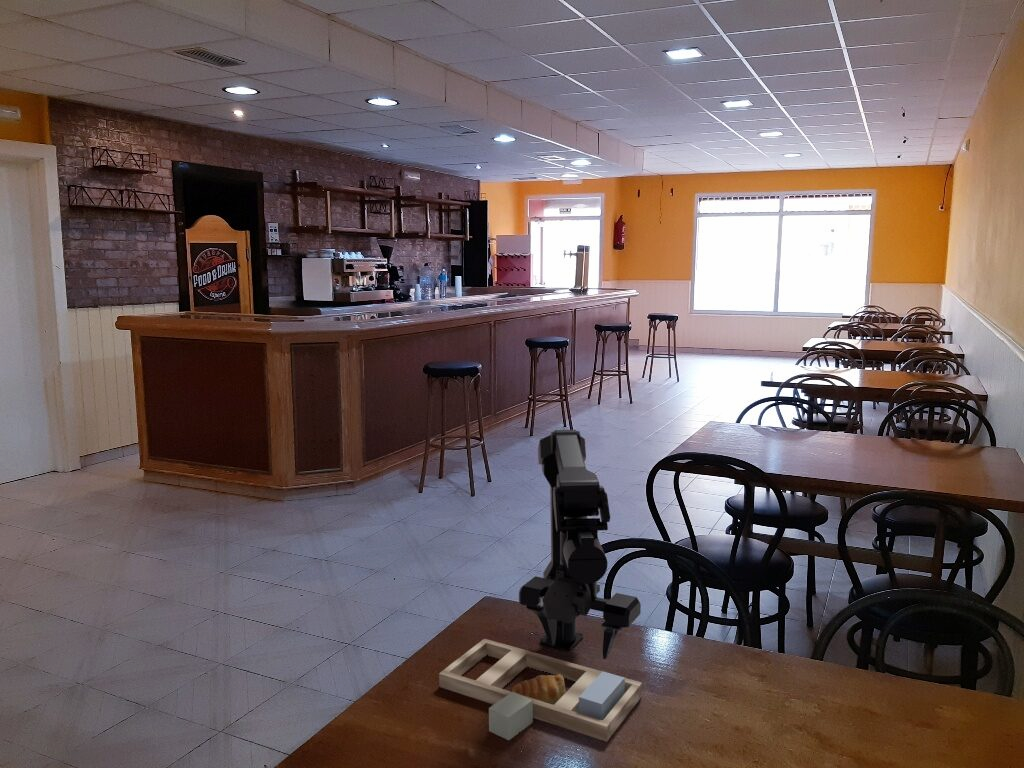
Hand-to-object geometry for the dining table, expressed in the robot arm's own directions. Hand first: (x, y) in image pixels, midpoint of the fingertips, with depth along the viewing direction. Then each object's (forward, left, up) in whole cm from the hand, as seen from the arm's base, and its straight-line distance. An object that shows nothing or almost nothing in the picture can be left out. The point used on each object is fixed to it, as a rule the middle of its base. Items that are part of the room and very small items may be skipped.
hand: (578, 651), depth 124 cm
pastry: (-2, -7, -12) cm, 14 cm away
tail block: (+8, -8, -11) cm, 16 cm away
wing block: (-3, +3, -11) cm, 12 cm away
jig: (-3, -9, -11) cm, 15 cm away
